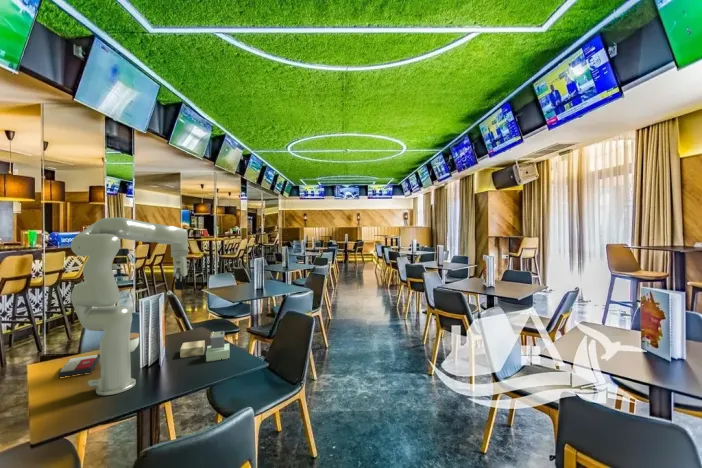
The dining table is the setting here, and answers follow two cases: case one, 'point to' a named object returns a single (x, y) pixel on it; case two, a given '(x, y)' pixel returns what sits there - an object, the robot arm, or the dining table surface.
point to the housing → (217, 341)
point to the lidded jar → (134, 341)
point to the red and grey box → (79, 365)
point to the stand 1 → (192, 349)
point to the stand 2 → (217, 353)
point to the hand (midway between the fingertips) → (180, 288)
